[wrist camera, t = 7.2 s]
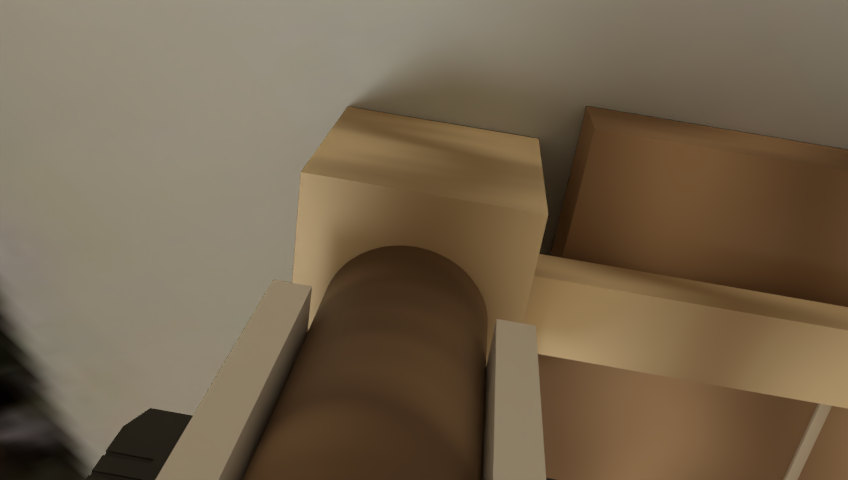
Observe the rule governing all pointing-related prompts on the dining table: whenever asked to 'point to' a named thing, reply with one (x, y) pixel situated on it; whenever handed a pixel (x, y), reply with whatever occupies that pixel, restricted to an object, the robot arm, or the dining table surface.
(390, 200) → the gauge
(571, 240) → the board
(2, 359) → the dining table surface
